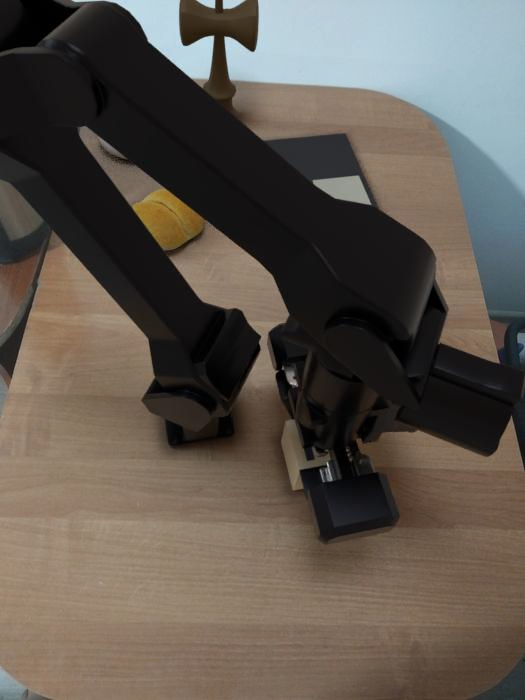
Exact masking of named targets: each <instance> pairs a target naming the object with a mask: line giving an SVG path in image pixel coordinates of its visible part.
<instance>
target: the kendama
mask: <svg viewBox="0 0 525 700" xmlns="http://www.w3.org/2000/svg"><path fill="white" fill-rule="evenodd" d="M259 7H260V6H259V0H243V1H242V2H241V3H239V4H237V5H235V6H234V7H231V8H227V7H226V8H224V0H214V7H211V6H207V5H205V4H203V3H201V2H200V1H199V0H179V4H178V28H179V37H180V42H181V45H182V46H183V47H189V46H191V45H193V44H194V43H196V42H198V41H200V40H202V39H204V38H208V37H213V44H212V55H211V64H210V71H209V76H208V80H207V81H206V82H205V83H203V86H202V88H203V89H204V90H205V91H206V92H207V93H209V94H210V95H211V96H212V97H213V98H214V99H216V100H217V101H218V102H219V103H220V104H221V105H223V106H224V107H225V108H226V109H227V110H228V111H230V112H231V113H232V114H233V115H234V116H235V117H236V118H239V114H238V111H237V108H235V107H234V105H233V98H234V97H235V95H236V93H237V87H236V84H235V83H233V82H232V81H231V79H230V74H229V67H228V66H229V65H228V60H227V51H226V38H231V39H233V40H235V41H236V42H237V43H238V44H240V45H241V46H243V47H244V48H245V49H246V50H248V51H249V52H251V53H255V52H256V49H257V46H258V39H259V38H258V37H259V24H260V23H259V22H260V19H259V18H260V8H259Z"/></svg>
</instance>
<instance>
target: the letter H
mask: <svg viewBox="0 0 525 700" xmlns="http://www.w3.org/2000/svg"><path fill="white" fill-rule="evenodd" d="M280 444H281V448H282V452H283V453H282V454H283V457H284V461H285V464H286V468H287V474H288V476H289V481H290V486H291V489H292V491H298V490H304V488H303V484H302V481H301V477H300V473H299V470H301V469H307V468H312V467H317V466H323V465H325V463H326V461H328V460H331V458H330V455H329V452H328V450H325V451H327V452H328V454H327V455H326V456H323V457H317V456H316V455H315V452H314V449H313V447H310V448H305V449H302V446H301V442H300V438H299V434H298V431H297V427H296V423H295V419H293V420H292V419H288V420H285V423H284V427H283V431H282V436H281V440H280ZM346 451H348V450H347V449H346ZM349 455H351V454H348V456H349ZM350 460H352V459H350Z"/></svg>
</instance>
